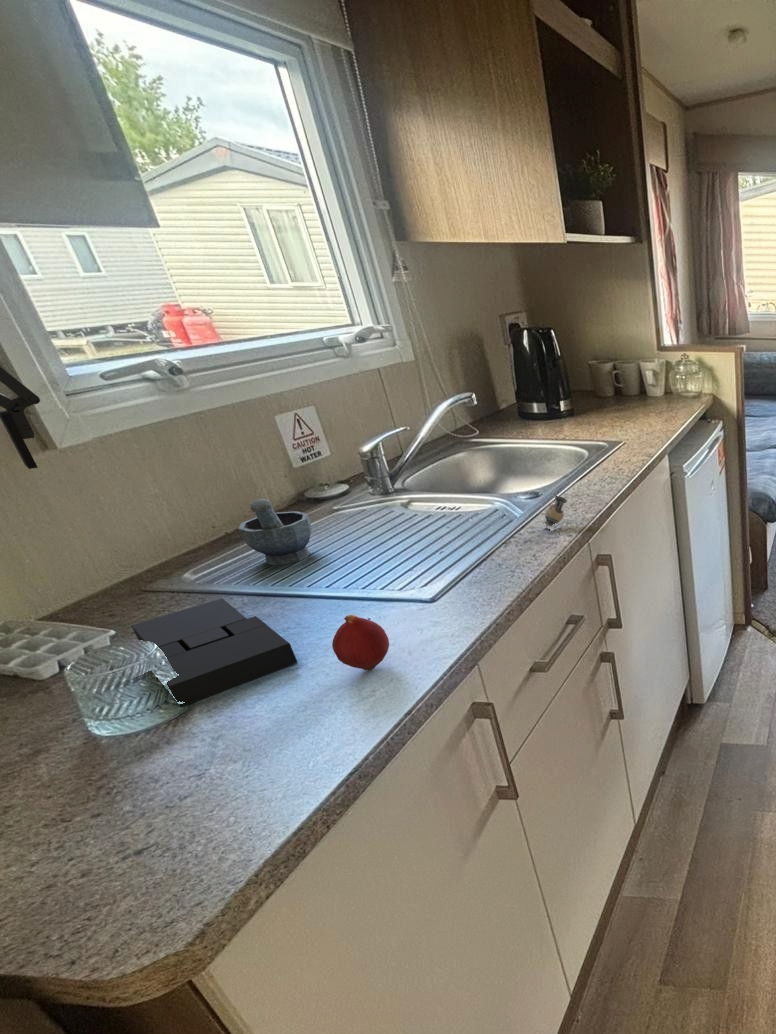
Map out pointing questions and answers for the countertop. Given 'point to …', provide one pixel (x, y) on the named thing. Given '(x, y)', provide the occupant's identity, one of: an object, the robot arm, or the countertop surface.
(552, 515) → the vase
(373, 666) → the onion
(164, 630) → the pad
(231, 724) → the countertop surface
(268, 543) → the mortar and pestle
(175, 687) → the notch pad
